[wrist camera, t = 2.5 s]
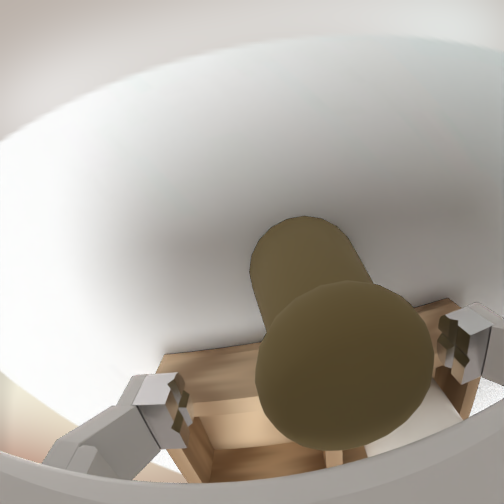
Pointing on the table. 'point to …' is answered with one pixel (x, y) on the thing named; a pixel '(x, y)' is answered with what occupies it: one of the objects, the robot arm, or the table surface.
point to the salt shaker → (419, 422)
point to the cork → (333, 341)
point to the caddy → (255, 421)
